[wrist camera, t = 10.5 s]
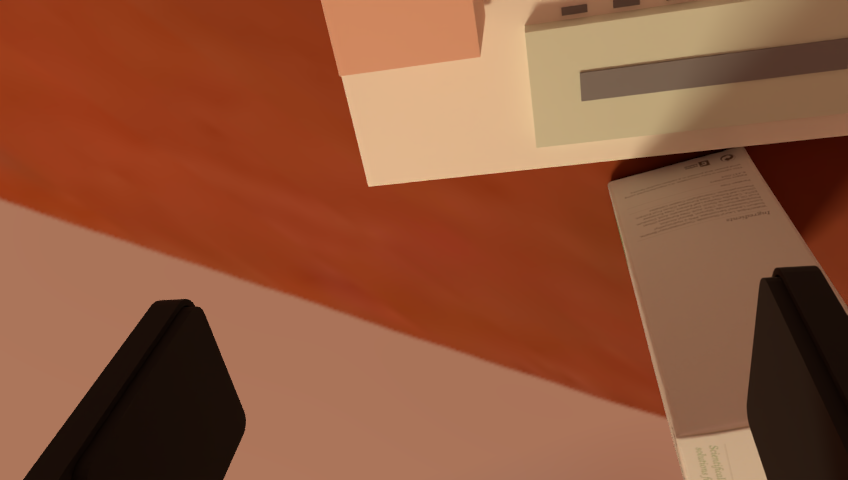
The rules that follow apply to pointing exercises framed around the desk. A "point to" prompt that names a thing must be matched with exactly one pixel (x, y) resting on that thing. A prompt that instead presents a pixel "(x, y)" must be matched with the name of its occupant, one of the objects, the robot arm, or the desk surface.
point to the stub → (402, 32)
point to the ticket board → (608, 86)
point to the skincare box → (705, 296)
